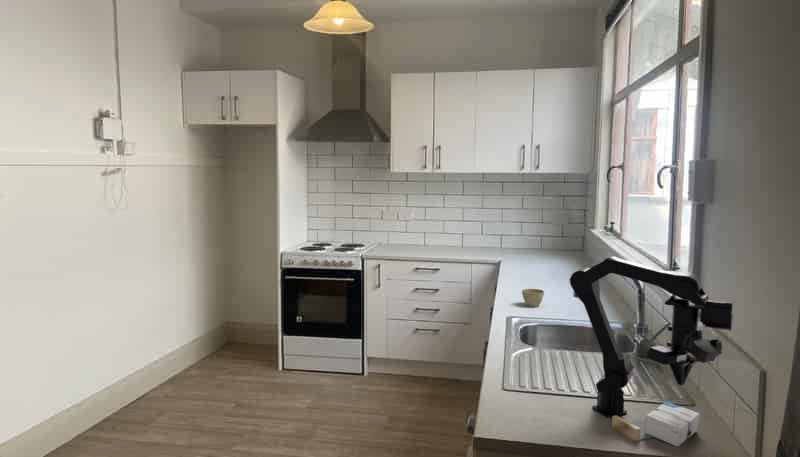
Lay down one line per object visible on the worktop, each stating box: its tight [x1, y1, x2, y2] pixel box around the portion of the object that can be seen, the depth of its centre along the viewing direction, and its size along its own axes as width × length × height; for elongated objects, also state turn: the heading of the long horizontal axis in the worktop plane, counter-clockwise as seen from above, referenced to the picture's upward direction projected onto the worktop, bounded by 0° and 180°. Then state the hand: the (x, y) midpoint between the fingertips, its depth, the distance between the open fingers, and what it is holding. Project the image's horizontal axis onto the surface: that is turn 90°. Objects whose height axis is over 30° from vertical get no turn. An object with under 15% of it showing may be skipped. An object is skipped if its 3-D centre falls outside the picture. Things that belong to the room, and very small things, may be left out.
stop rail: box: [611, 415, 641, 442], centre depth 146 cm, size 8×1×3 cm, turn 23°
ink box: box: [644, 401, 701, 448], centre depth 146 cm, size 8×5×12 cm
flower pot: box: [521, 288, 545, 308], centre depth 276 cm, size 10×10×7 cm
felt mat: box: [629, 418, 655, 441], centre depth 149 cm, size 8×13×1 cm, turn 114°
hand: (680, 384), depth 149 cm, fingers closed
